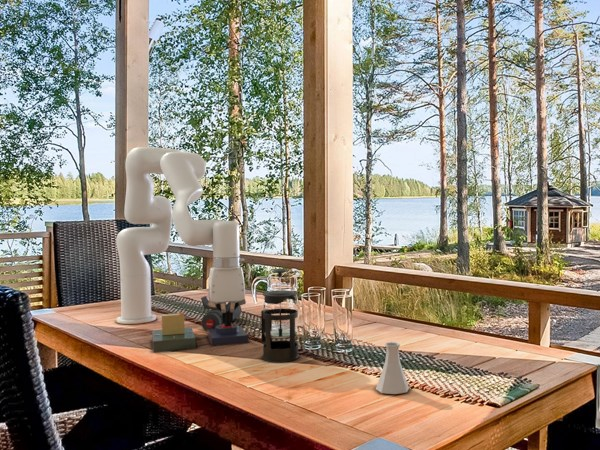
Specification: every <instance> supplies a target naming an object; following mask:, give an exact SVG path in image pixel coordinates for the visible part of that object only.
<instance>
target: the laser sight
mask: <svg viewBox="0 0 600 450" xmlns="http://www.w3.org/2000/svg"><path fill="white" fill-rule="evenodd" d="M200 300H201V304H202V307H203V310H209V311H208V312H207V313H206V314H205V315H204V316H203V317H202V319H201V327H202V329H203V330H204V331H205V332H207V329H215V327H216V326H217V325H221V324H224V323H222V312H221V311H220V310H219V309H218V308H216V307H210V306H209V305H208V303H209V298H208V295H204V296H202V297H200ZM224 303H225V308H226V310H227V312H228V309H229V303H230V302H224ZM241 313H242V305H240V306H238V307H237V308H236V309H235V310H234V312H233V321H234V320H235V319H236V318H238V317H239V316H240V315H241Z"/></svg>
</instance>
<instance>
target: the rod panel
mask: <svg viewBox="0 0 600 450" xmlns="http://www.w3.org/2000/svg"><path fill="white" fill-rule="evenodd" d="M151 335H152V336H151V337H152V340H151V341H152V351H153V353H159V352H170V351H171V352H173V351H181V350H182V351H183V350H193V349H196V348H197V338H196V335H195V333H194V330H193V328H192V326H190V327H185V333H184V334H173V335H162V329H153V330H151Z"/></svg>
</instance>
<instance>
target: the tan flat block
mask: <svg viewBox="0 0 600 450" xmlns="http://www.w3.org/2000/svg"><path fill="white" fill-rule="evenodd" d="M185 328H186V326H185V313H184V312H179V313H168V314H167V313H166V314H165V313H163V314H161V330H162V335H173V334H184V333H185Z"/></svg>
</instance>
